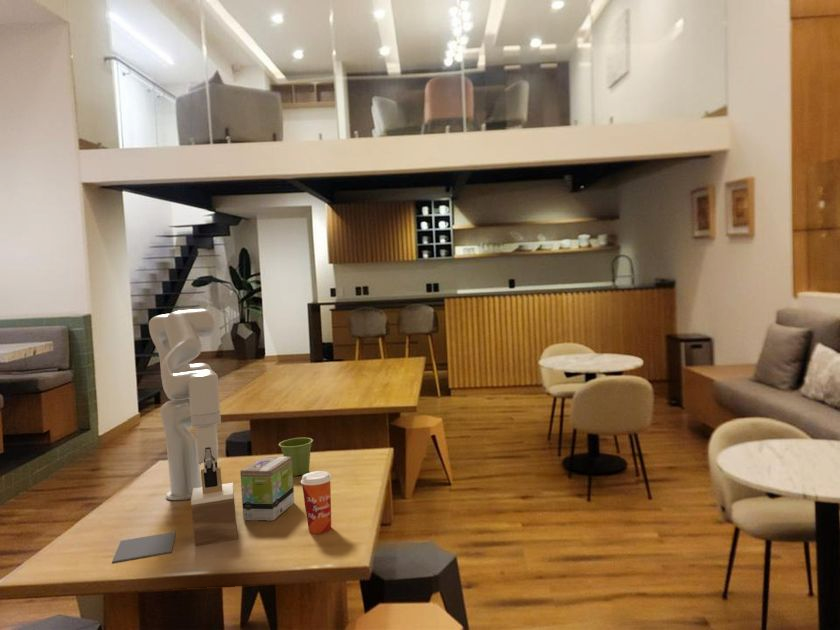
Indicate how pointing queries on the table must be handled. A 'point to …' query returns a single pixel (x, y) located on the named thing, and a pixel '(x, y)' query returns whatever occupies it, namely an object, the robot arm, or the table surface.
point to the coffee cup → (317, 500)
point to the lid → (212, 491)
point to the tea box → (267, 488)
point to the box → (214, 521)
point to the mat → (144, 547)
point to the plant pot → (298, 454)
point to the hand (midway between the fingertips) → (211, 481)
